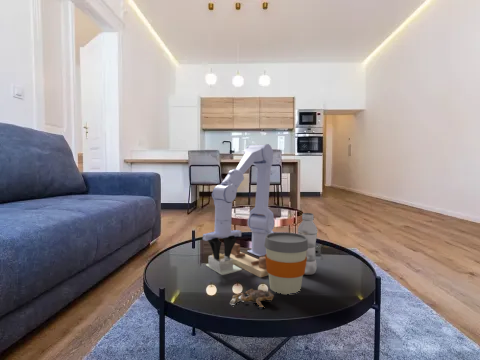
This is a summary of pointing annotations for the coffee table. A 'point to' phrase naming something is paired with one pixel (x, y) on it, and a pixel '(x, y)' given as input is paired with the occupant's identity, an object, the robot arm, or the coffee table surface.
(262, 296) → the frog figurine
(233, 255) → the hand plane
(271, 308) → the coffee table surface
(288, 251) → the reusable coffee cup
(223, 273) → the felt pad
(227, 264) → the brass-inlaid steel block
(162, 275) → the coffee table surface
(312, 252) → the plastic bottle
